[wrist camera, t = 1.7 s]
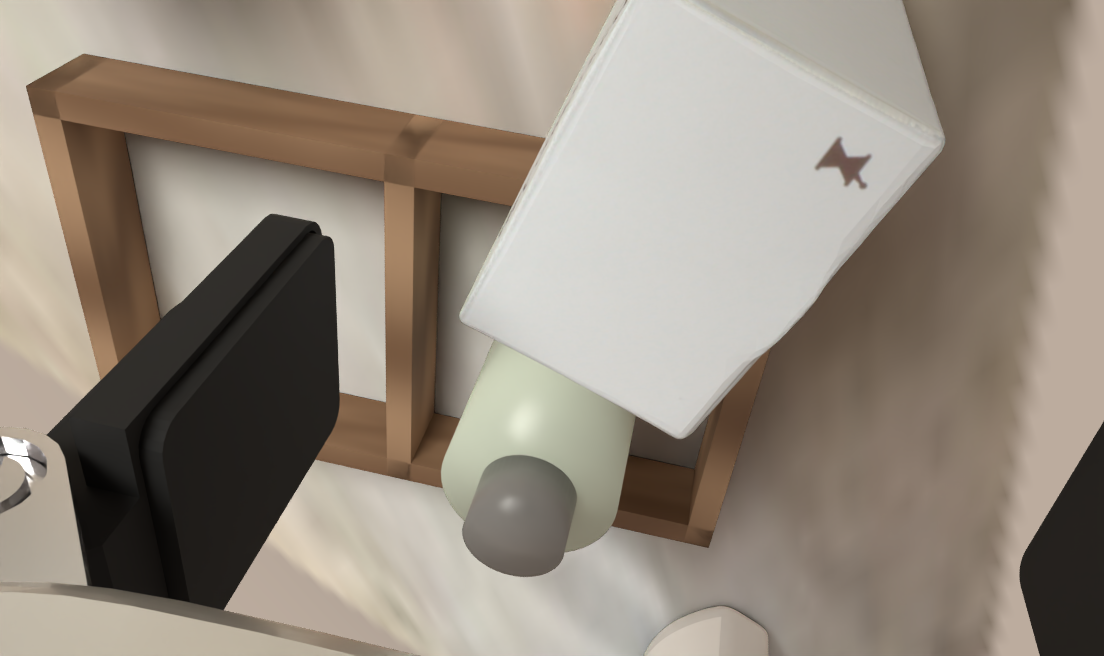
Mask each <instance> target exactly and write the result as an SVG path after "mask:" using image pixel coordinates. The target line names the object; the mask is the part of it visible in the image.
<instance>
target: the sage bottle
mask: <svg viewBox="0 0 1104 656" xmlns="http://www.w3.org/2000/svg"><path fill="white" fill-rule="evenodd" d="M635 417H636V416H635V415H634V414H632V413H630V412H628V411H626V410H625V409H623V408H621V407H619V406H618V405H616V404H614V403H612V402H610V401H608V400H607V399H605V398H603V397H601V396H599V395H597V394H596V393H594V392H592V391H590V390H588V389H587V388H585V387H583V386H581V385H579V384H577V383H576V382H574V381H572V380H570V379H568V378H566V377H565V376H563V375H561V374H559V373H557V372H555V371H553V370H551V369H549V368H548V367H546V366H544V365H542V364H540V363H538V362H536V361H534V360H532V359H530V358H528V357H527V356H525V355H523V354H521V353H519V352H517V351H515V350H513V349H511V348H509V347H507V346H506V345H504V344H502V343H500V342H498V341H496V340H494V341H493V344H492V346H491V348H490V351H489V353H488V356H487V358H486V360H485V363H484V365H483V367H482V370H481V372H480V374H479V377H478V379H477V381H476V384H475V386H474V388H473V391H472V393H471V396H470V398H469V400H468V403H467V405H466V407H465V410H464V412H463V414H462V417H461V419H460V421H459V424H458V426H457V428H456V431H455V433H454V435H453V438H452V440H451V443H450V445H449V447H448V450H447V452H446V454H445V457H444V460H443V463H442V468H441V481H442V486H443V490H444V492H445V495H446V497H447V499H448V501H449V503H450V504H451V506H452V507H453V509H454V510H455V511H456V513H457V514H458V515H459V516H460V517H461V518H462V519H463V520H464V521H465V522H464V524H463V529H462V535H463V539H464V542H465V544H466V546H467V548H468V549H469V551H470V552H471V553H472V554H473V555H474V556H475V557H476V558H477V559H478V560H479V561H480V562H482V563H483V564H485V565H486V566H488V567H490V568H492V569H494V570H496V571H499V572H501V573H504V574H508V575H513V576H520V577H531V576H538V575H542V574H545V573H548V572H550V571H552V570H553V569H555V568H556V567H557V566H558V565H559V564H560V562H561V560H562V559H563V556H564V552H569V551H574V550H577V549H580V548H583V547H586V546H588V545H590V544H592V543H593V542H595V541H597V540H598V539H600V538H601V537H602V536H603V535H604V534H605V533H606V532H607V531H608V530H609V528H610V527H611V525H612V524H613V522H614V520H615V517H616V514H617V510H618V505H619V500H620V495H621V490H622V484H623V479H624V474H625V469H626V464H627V459H628V453H629V448H630V443H631V438H632V433H633V428H634V423H635Z"/></svg>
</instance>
